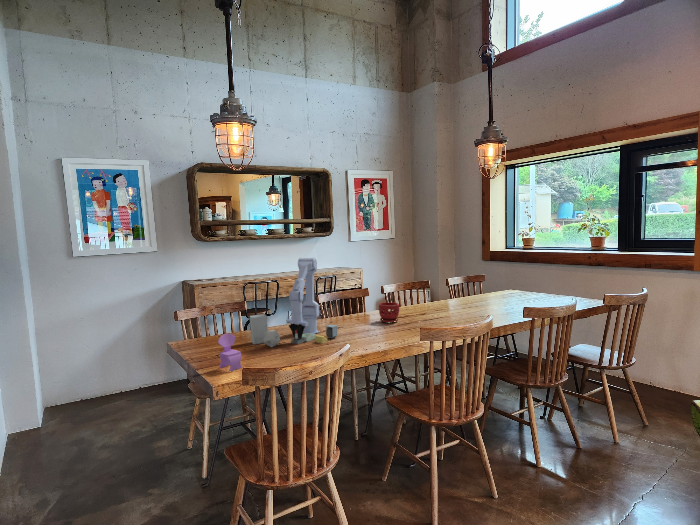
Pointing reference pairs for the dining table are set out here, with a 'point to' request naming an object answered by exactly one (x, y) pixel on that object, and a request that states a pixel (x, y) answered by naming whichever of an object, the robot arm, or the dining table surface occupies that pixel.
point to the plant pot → (389, 315)
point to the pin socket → (297, 341)
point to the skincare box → (258, 328)
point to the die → (271, 338)
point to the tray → (308, 337)
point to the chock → (320, 339)
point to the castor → (331, 331)
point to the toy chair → (229, 353)
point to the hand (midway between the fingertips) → (297, 337)
